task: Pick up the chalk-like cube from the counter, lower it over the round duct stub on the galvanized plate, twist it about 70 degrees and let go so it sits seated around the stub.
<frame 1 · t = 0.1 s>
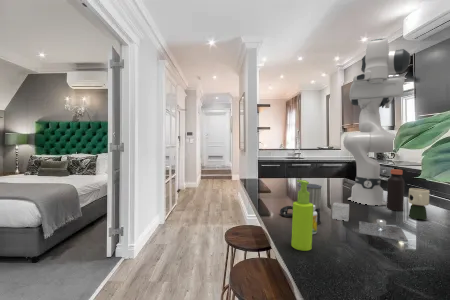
hand: (374, 108, 108), 48 cm above the worktop, tool pointing down, fingers open, 8 cm apart
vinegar: (394, 209, 123), on the worktop
character mug: (417, 219, 108), on the worktop
chalk-like cube: (340, 218, 105), on the worktop
supplement bottle: (308, 232, 87), on the worktop
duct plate: (380, 231, 90), on the worktop
soap dispenser: (300, 246, 75), on the worktop
milk frother: (299, 219, 102), on the worktop
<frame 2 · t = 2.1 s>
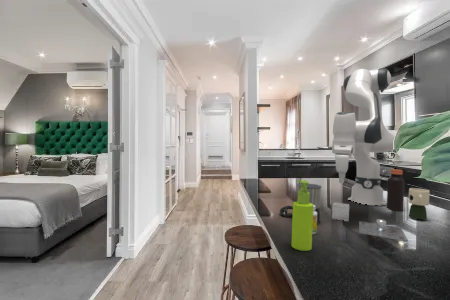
hand: (342, 181, 104), 16 cm above the worktop, tool pointing down, fingers open, 8 cm apart
nothing on the worktop moved.
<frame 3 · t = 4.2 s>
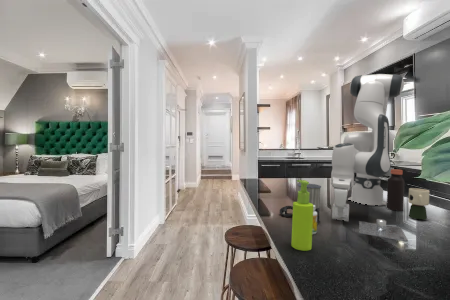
hand: (340, 213, 105), 2 cm above the worktop, tool pointing down, fingers closed on chalk-like cube, 6 cm apart
chalk-like cube: (340, 218, 105), on the worktop, touching gripper
everything else where it was.
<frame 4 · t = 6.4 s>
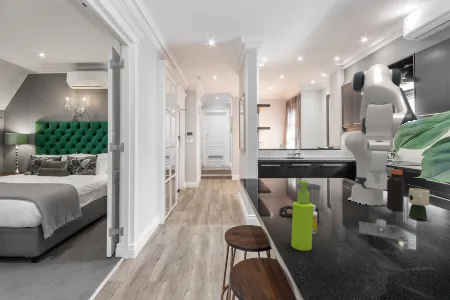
hand: (376, 182, 92), 18 cm above the worktop, tool pointing down, fingers closed on chalk-like cube, 6 cm apart
chalk-like cube: (376, 187, 92), point 16 cm above the worktop, touching gripper
everything else where it was.
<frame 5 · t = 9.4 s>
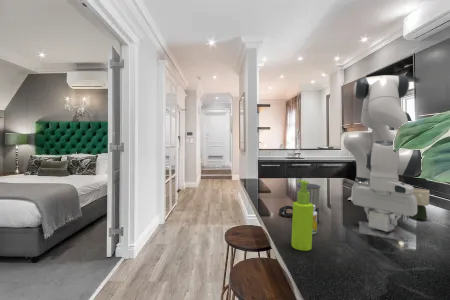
hand: (381, 222, 90), 3 cm above the worktop, tool pointing down, fingers closed on chalk-like cube, 6 cm apart
chalk-like cube: (381, 227, 90), point 1 cm above the worktop, touching gripper
everything else where it was.
when the fingers open (3 cm above the worktop, at t = 10.3 s): chalk-like cube stays where it is, resting on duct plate.
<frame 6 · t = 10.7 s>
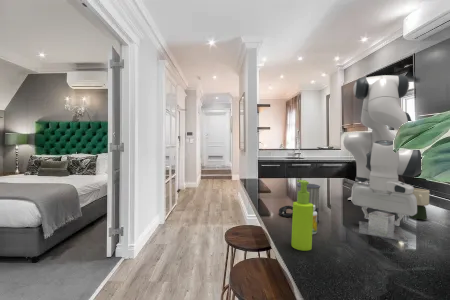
hand: (381, 221, 90), 3 cm above the worktop, tool pointing down, fingers open, 8 cm apart
chalk-like cube: (381, 229, 90), resting on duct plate
everything else where it was.
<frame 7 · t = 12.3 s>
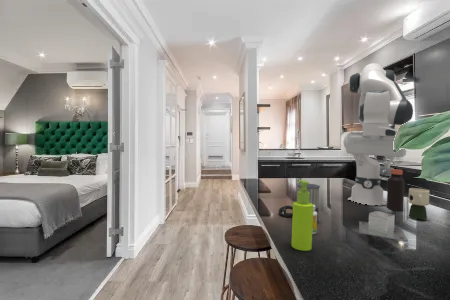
hand: (373, 166, 97), 23 cm above the worktop, tool pointing down, fingers open, 8 cm apart
nothing on the worktop moved.
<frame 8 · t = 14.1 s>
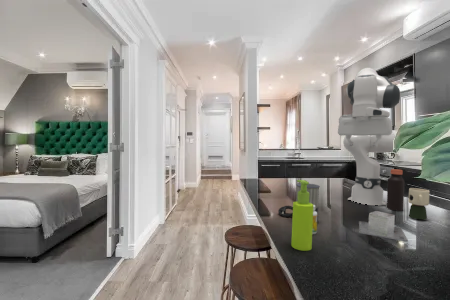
hand: (362, 146, 103), 31 cm above the worktop, tool pointing down, fingers open, 8 cm apart
nothing on the worktop moved.
at the end: chalk-like cube 0.0 cm off-centre on the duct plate, point 0.5 cm above the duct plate's base; chalk-like cube tilted 0°; the gripper is holding nothing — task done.
